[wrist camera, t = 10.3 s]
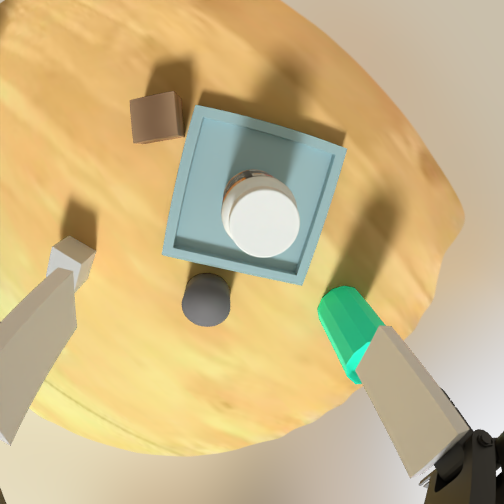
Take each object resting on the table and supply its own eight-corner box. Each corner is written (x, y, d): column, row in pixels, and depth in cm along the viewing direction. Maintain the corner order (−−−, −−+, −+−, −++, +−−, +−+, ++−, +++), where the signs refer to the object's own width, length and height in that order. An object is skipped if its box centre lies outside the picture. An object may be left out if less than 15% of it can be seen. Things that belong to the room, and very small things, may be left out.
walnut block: (146, 143, 26) (133, 143, 22) (142, 106, 24) (129, 100, 20) (184, 136, 26) (177, 135, 22) (181, 98, 24) (173, 90, 21)
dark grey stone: (182, 306, 32) (178, 321, 29) (189, 268, 31) (185, 280, 28) (224, 315, 33) (224, 330, 30) (234, 278, 31) (235, 290, 28)
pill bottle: (227, 164, 26) (227, 172, 17) (286, 174, 27) (316, 188, 18) (219, 221, 28) (214, 258, 19) (275, 229, 29) (297, 269, 20)
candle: (343, 332, 35) (379, 398, 24) (307, 317, 34) (338, 388, 23) (370, 296, 34) (419, 355, 22) (336, 277, 32) (382, 339, 21)
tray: (164, 249, 29) (161, 254, 28) (197, 107, 25) (195, 104, 23) (299, 279, 32) (302, 285, 30) (341, 148, 27) (347, 148, 26)
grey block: (62, 263, 29) (45, 276, 25) (69, 235, 28) (52, 246, 24) (88, 278, 30) (73, 294, 26) (96, 250, 29) (81, 264, 25)
